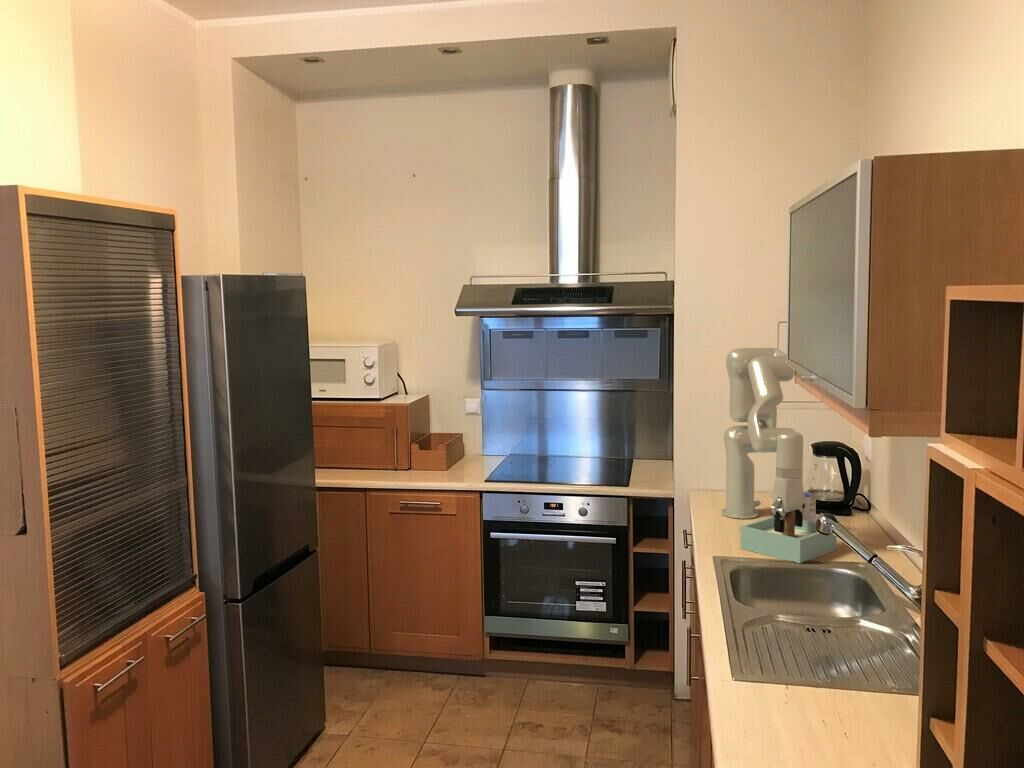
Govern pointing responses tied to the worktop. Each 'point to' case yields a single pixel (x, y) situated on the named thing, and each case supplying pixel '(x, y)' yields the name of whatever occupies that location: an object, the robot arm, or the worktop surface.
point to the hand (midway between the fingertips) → (788, 528)
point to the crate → (786, 541)
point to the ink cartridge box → (809, 507)
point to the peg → (789, 524)
